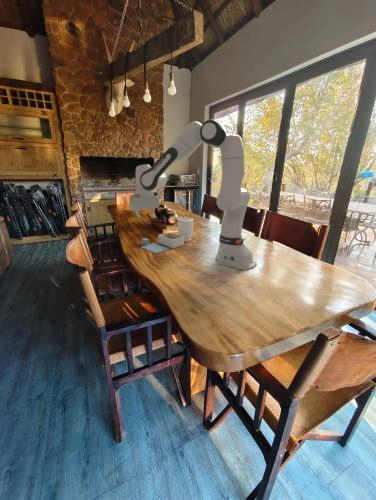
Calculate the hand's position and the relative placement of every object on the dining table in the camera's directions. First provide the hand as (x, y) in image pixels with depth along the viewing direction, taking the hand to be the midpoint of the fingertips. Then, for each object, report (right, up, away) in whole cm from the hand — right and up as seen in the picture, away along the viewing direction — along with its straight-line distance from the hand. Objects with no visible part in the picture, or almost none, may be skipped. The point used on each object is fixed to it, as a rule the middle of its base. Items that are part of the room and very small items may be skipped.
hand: (145, 216), depth 144 cm
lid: (+4, -20, +3) cm, 20 cm away
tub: (+15, -17, +10) cm, 25 cm away
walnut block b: (+13, -16, +11) cm, 23 cm away
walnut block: (+17, -17, +8) cm, 25 cm away
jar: (+24, -14, +20) cm, 34 cm away
